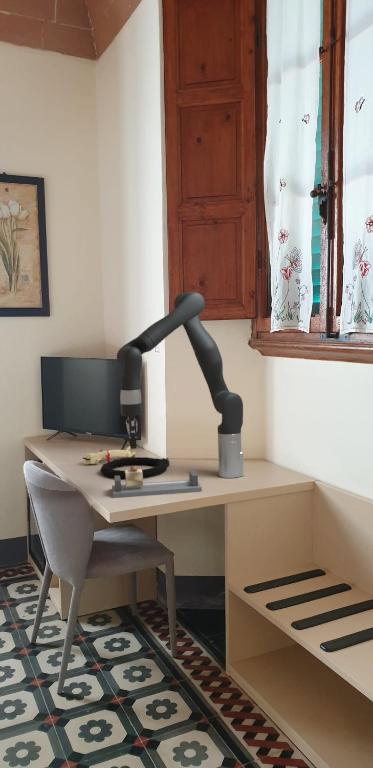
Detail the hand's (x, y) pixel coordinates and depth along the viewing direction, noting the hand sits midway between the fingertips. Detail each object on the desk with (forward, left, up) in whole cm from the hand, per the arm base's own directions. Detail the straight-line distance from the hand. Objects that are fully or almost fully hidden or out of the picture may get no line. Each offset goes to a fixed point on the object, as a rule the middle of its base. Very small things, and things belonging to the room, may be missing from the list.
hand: (132, 446), depth 237 cm
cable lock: (-3, -32, -18) cm, 37 cm away
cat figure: (+8, -54, -18) cm, 57 cm away
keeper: (0, 0, -14) cm, 14 cm away
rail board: (-8, 0, -17) cm, 19 cm away
